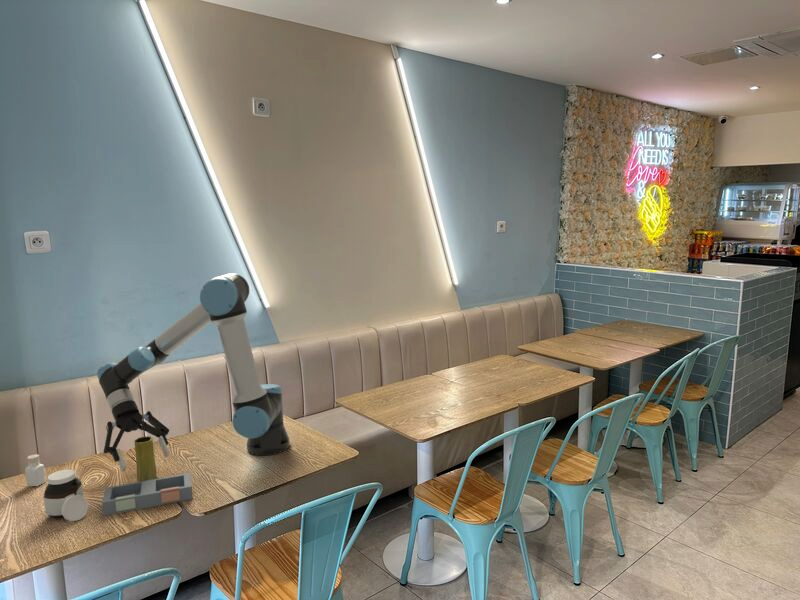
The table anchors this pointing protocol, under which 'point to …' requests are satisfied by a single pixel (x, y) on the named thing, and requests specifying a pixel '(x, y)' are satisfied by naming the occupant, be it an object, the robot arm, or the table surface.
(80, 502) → the spread jar
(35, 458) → the salt shaker
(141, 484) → the sorting tray
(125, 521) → the table surface
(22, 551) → the table surface
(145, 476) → the vase
